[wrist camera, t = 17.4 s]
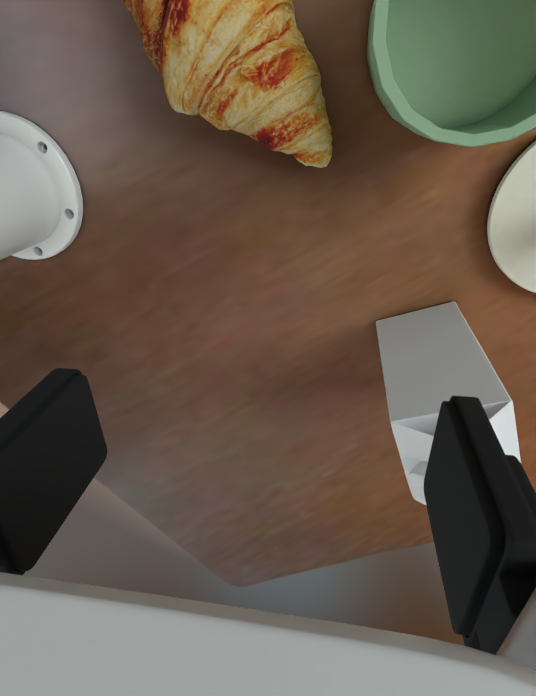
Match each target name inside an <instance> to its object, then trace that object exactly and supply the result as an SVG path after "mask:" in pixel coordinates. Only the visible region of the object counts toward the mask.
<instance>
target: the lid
mask: <svg viewBox="0 0 536 696" xmlns="http://www.w3.org/2000/svg"><path fill="white" fill-rule="evenodd" d="M487 236H488V244H489V247H490V251H491V254H492V256H493V258H494V260H495V262H496V264H497V265H498V266H499V268H500V269H501V271H502V272H503V273H504V274H505V275H506V276H507V277H508V278H509V279H510V280H512V281H513V282H514V283H516V284H517V285H518V286H520V287H522V288H524V289H526V290H528V291H531V292H534V293H536V141H535V142H533V143H532V144H531V145H530V146H529V147H528V148H527V149H526V150H525V151H524V152H523V153H522V154H521V155H520V156H519V157H518V158H517V159H516V160H515V161H514V163H513V164H512V165H511V167H510V168H509V169H508V171H507V172H506V174H505V175H504V177H503V179H502V180H501V182H500V184H499V185H498V188H497V190H496V192H495V194H494V197H493V199H492V203H491V206H490V209H489V215H488V221H487Z"/></svg>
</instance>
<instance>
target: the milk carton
mask: <svg viewBox="0 0 536 696" xmlns="http://www.w3.org/2000/svg"><path fill="white" fill-rule="evenodd" d="M376 328H377V335H378V342H379V349H380V355H381V362H382V369H383V376H384V382H385V389H386V396H387V403H388V409H389V416H390V422H391V426H392V430H393V434H394V437H395V440H396V444H397V447H398V451H399V454H400V457H401V461H402V464H403V467H404V471H405V474H406V478H407V481H408V484H409V488H410V491H411V493H412V496H413V498H414V499H415V500H417V501H419V502H421V503H423V504H425V505H426V500H425V496H424V477H425V473H426V469H427V464H428V460H429V455H430V451H431V447H432V442H433V438H434V433H435V429H436V425H437V420H438V416H439V412H440V407H441V404H442V402H443V401H449V400H450V398H451V396H467V397H477V398H479V400H480V402H481V404H482V406H483V408H484V410H485V412H486V414H487V417H488V419H489V421H490V423H491V425H492V427H493V429H494V432H495V434H496V436H497V438H498V440H499V442H500V444H501V446H502V449H503V451H504V453H505V455H513V456H515V457H516V458H517V459H518V460H519V462H520V463H521V460H520V452H519V445H518V437H517V430H516V422H515V415H514V408H513V402H512V400H511V398H510V396H509V394H508V393H507V391H506V389H505V388H504V386H503V384H502V382H501V381H500V379H499V377H498V375H497V374H496V372H495V370H494V368H493V367H492V365H491V363H490V361H489V360H488V358H487V356H486V354H485V353H484V351H483V349H482V348H481V346H480V344H479V342H478V341H477V339H476V337H475V335H474V334H473V332H472V330H471V328H470V327H469V325H468V323H467V321H466V320H465V318H464V316H463V314H462V313H461V311H460V309H459V308H458V306H457V304H456V302H455V301H453V302H449V303H445V304H441V305H437V306H433V307H429V308H425V309H421V310H417V311H413V312H409V313H406V314H402V315H398V316H394V317H390V318H386V319H382V320H378V321H376Z"/></svg>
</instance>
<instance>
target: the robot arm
mask: <svg viewBox="0 0 536 696" xmlns="http://www.w3.org/2000/svg"><path fill="white" fill-rule="evenodd" d="M82 217H83V198H82V193H81V189H80V184H79V182H78V179H77V176H76V174H75V171H74V169H73V167H72V165H71V164H70V162H69V160H68V158H67V156H66V155H65V154H64V152H63V151H62V150H61V148H60V147H59V146H58V144H57V143H56V142H55V141H54V140H53V139H52V138H51V137H50V136H49V135H48V134H47V133H46V132H45V131H43V130H42V129H41V128H39V127H38V126H37V125H35V124H34V123H32V122H31V121H29V120H27V119H25V118H23V117H21V116H19V115H15V114H12V113H8V112H4V111H0V260H1V259H4V258H6V257H8V256H10V255H12V256H15V257H19V258H22V259H31V260H37V259H45V258H48V257H51V256H54V255H56V254H58V253H60V252H61V251H63V250H65V249H66V248H67V247H68V246H69V245H70V244H71V243H72V242H73V241H74V239H75V238H76V236H77V235H78V232H79V229H80V227H81V224H82ZM106 456H107V447H106V443H105V440H104V436H103V432H102V429H101V425H100V422H99V418H98V415H97V411H96V408H95V404H94V401H93V397H92V393H91V390H90V386H89V383H88V380H87V377H86V376H84V375H82V373H81V372H80V371H79V370H77V369H64V368H57V369H55V370H53V371H52V372H51V373H50V374H49V375H47V376H46V377H45V378H44V379H43V380H42V381H41V382H40V383H39V384H38V385H36V386H35V387H34V388H33V389H32V390H31V391H30V392H29V393H28V394H27V395H25V396H24V397H23V398H22V399H21V400H20V401H19V402H18V403H17V404H15V405H14V406H13V407H12V408H11V409H10V410H9V411H8V412H7V413H6V414H5V415H3V416H2V417H1V418H0V696H536V493H535V491H534V489H533V487H532V485H531V483H530V481H529V479H528V477H527V475H526V473H525V471H524V469H523V467H522V465H521V463H520V462H519V460H518V459H517V458H516V457H515V456H513V455H505V453H504V451H503V449H502V446H501V444H500V442H499V440H498V438H497V436H496V434H495V432H494V429H493V427H492V425H491V423H490V421H489V419H488V417H487V414H486V412H485V410H484V408H483V406H482V404H481V402H480V400H479V398H477V397H467V396H451V398H450V400H449V401H443V402H442V404H441V407H440V412H439V416H438V420H437V425H436V429H435V433H434V438H433V442H432V447H431V451H430V455H429V460H428V464H427V469H426V473H425V477H424V496H425V500H426V505H427V510H428V515H429V519H430V524H431V529H432V533H433V538H434V543H435V548H436V552H437V557H438V562H439V566H440V571H441V576H442V581H443V585H444V590H445V595H446V600H447V604H448V609H449V614H450V619H451V623H452V627H453V630H454V632H455V633H456V634H461V635H463V639H464V643H465V646H462V645H458V644H453V643H449V642H444V641H440V640H435V639H430V638H426V637H421V636H415V635H409V634H403V633H398V632H392V631H386V630H380V629H374V628H368V627H362V626H356V625H351V624H344V623H338V622H332V621H326V620H319V619H313V618H306V617H300V616H293V615H287V614H280V613H274V612H267V611H261V610H254V609H248V608H241V607H235V606H228V605H221V604H215V603H208V602H202V601H195V600H188V599H182V598H174V597H168V596H161V595H155V594H148V593H141V592H134V591H128V590H121V589H114V588H107V587H100V586H93V585H87V584H80V583H72V582H65V581H58V580H51V579H44V578H37V577H30V576H23V574H24V573H25V571H28V570H30V569H31V568H32V567H33V566H34V565H35V564H36V562H37V561H38V559H39V558H40V556H41V555H42V553H43V552H44V550H45V549H46V547H47V546H48V544H49V543H50V542H51V540H52V538H53V537H54V535H55V534H56V533H57V531H58V530H59V528H60V527H61V525H62V524H63V522H64V521H65V519H66V518H67V516H68V515H69V513H70V512H71V510H72V509H73V507H74V506H75V504H76V503H77V501H78V500H79V498H80V497H81V495H82V494H83V492H84V491H85V489H86V488H87V486H88V485H89V483H90V482H91V481H92V479H93V478H94V476H95V475H96V473H97V472H98V470H99V469H100V467H101V466H102V464H103V463H104V461H105V459H106Z"/></svg>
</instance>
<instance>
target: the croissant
mask: <svg viewBox="0 0 536 696" xmlns="http://www.w3.org/2000/svg"><path fill="white" fill-rule="evenodd" d="M124 2H125V4H126V6H127V9H128V11H130V12H132V16H133V18H134V21H135V23H136V25H137V26H138V28H139V29H140V35H141V38H142V41H143V50H144V52H145V53H146V55H147V56H148V58H149V59H150V60H151V61H152V62H153V64H154V66H155V67H156V68H157V70H158V71H159V73H160V74H161V76H162V78H163V84H164V89H165V92H166V96H167V99H168V102H169V104H170V106H171V107H172V108H173V109H174V110H175V111H177V112H179V113H184V114H186V115H199V114H200V115H201V116H202V117H203V118H204V119H206V120H207V121H208V122H210V123H211V124H212V125H214V126H215V127H216V128H218V129H220V130H230V129H231V130H235V131H236V132H240V133H243V134H246V135H249V136H250V137H251V138H253V139H254V140H256V141H258V142H259V143H261V144H262V145H263V146H265V147H266V148H268V149H270V150H273V151H281V152H284V153H286V154H293V156H294V157H295V158H296V159H297V160H298V161H299V162H301V163H302V164H304V165H305V166H315V167H319V168H321V167H327V165H328V163H329V162H330V160H331V156H332V144H331V142H332V135H331V134H330V132H331V130H332V129H331V126H330V124H329V120H328V116H327V112H326V104H325V98H324V96H323V94H322V88H321V85H320V83H321V75H320V72H319V69H318V67H317V64H316V62H315V59H314V57H313V55H312V54H311V53H310V51H308V49H307V47H306V45H305V43H304V38H303V36H302V34H301V32H300V31H299V30H298V28H297V24H296V21H295V10H294V6H293V3H292V1H291V0H124Z"/></svg>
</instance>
